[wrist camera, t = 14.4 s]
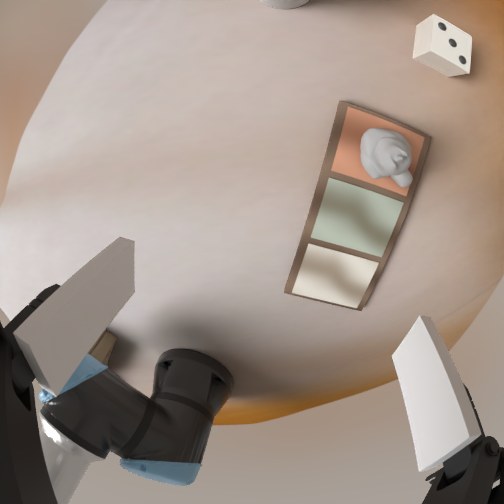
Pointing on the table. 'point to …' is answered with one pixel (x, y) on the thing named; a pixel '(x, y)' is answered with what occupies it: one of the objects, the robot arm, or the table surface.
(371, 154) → the white lumpy piece
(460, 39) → the die
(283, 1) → the coffee cup
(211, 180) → the table surface
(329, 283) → the game board
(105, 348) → the block tower
